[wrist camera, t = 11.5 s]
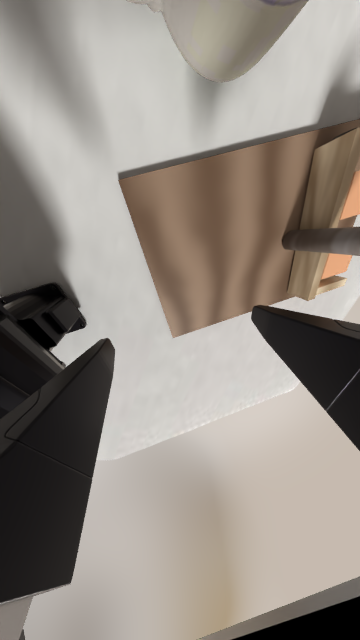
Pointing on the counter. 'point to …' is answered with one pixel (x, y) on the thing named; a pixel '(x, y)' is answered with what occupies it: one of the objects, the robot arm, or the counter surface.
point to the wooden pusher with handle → (324, 218)
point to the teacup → (225, 31)
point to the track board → (224, 227)
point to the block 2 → (352, 198)
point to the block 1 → (335, 264)
